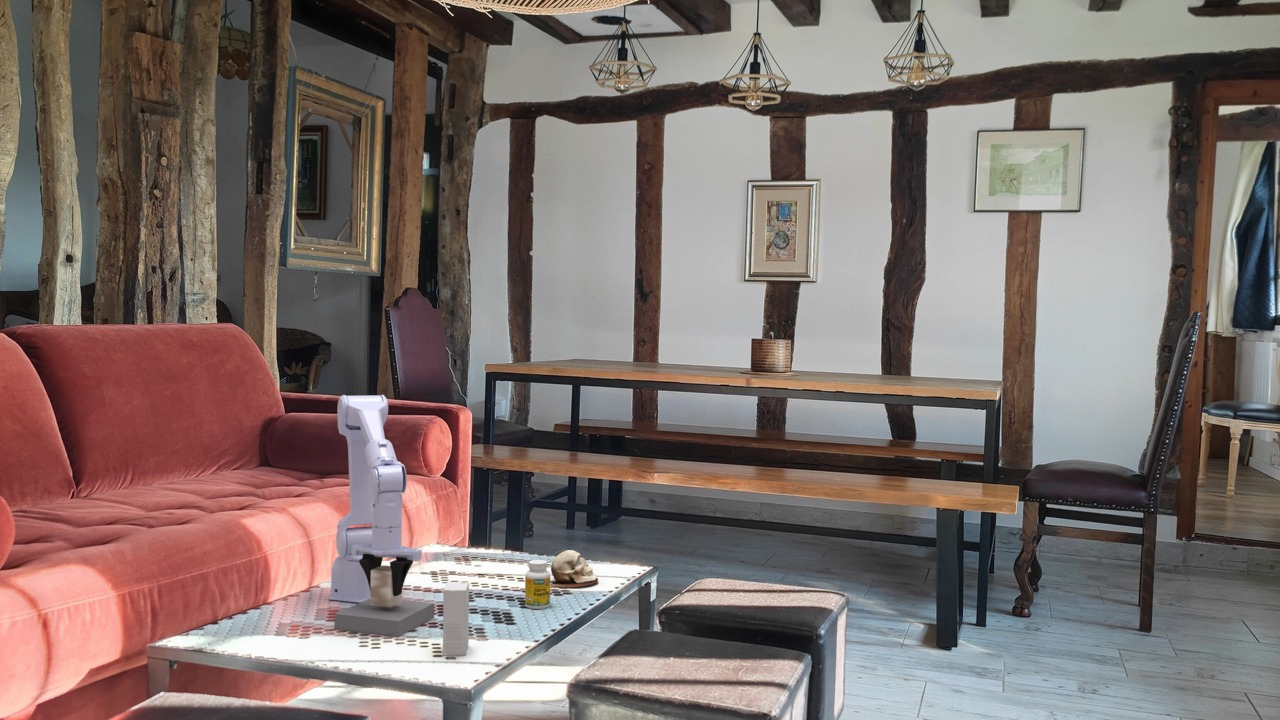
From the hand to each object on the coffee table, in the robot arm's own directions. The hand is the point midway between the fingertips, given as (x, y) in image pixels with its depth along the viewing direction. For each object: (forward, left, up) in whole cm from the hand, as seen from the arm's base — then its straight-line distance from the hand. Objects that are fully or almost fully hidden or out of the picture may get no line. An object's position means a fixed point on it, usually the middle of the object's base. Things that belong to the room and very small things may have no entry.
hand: (385, 593), depth 203 cm
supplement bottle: (+23, +23, -6) cm, 33 cm away
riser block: (0, 0, -6) cm, 6 cm away
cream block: (0, 0, -2) cm, 2 cm away
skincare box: (+21, -11, -6) cm, 24 cm away
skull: (+23, +46, -6) cm, 51 cm away
